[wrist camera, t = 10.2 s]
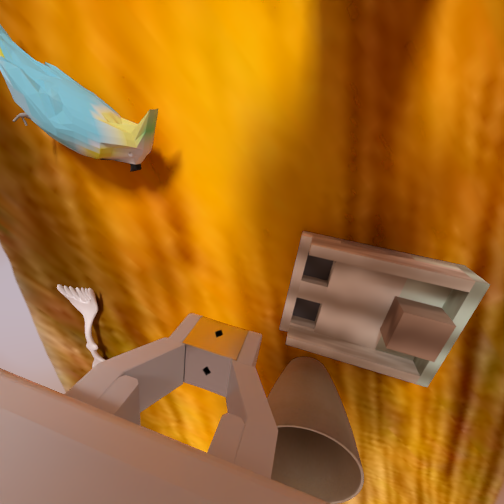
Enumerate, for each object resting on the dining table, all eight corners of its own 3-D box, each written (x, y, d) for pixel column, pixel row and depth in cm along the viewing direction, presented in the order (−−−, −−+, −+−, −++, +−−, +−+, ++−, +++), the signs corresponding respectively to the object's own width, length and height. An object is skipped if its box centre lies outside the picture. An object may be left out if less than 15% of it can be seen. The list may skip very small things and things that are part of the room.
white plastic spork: (101, 282, 52) (87, 290, 49) (132, 392, 64) (122, 404, 60) (68, 278, 54) (53, 285, 51) (103, 385, 66) (93, 397, 63)
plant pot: (331, 411, 48) (335, 520, 34) (260, 381, 50) (236, 471, 36) (364, 358, 42) (387, 463, 28) (282, 326, 44) (263, 408, 30)
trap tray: (302, 230, 37) (300, 242, 32) (464, 265, 33) (490, 284, 28) (281, 320, 44) (276, 341, 39) (414, 358, 40) (427, 387, 35)
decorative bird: (149, 196, 42) (107, 206, 34) (4, 95, 42) (-74, 79, 34) (181, 117, 36) (139, 105, 28) (12, -1, 36) (-81, -49, 28)
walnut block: (395, 295, 34) (403, 312, 31) (441, 307, 33) (456, 326, 30) (379, 329, 37) (386, 348, 33) (422, 341, 36) (434, 362, 32)
